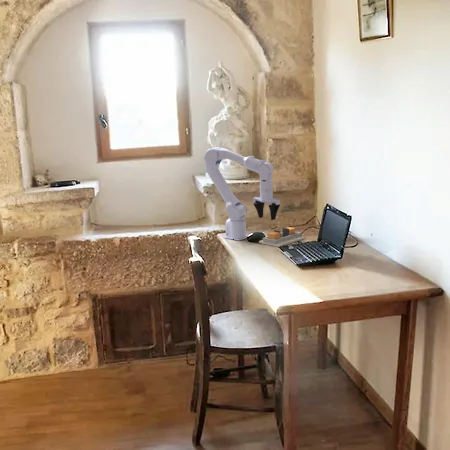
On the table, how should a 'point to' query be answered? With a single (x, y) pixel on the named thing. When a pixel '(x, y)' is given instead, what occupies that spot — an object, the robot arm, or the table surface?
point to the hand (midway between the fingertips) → (267, 218)
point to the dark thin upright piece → (320, 227)
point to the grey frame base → (284, 238)
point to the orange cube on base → (274, 235)
